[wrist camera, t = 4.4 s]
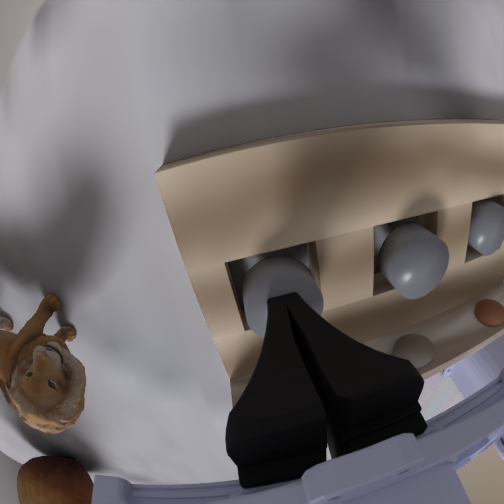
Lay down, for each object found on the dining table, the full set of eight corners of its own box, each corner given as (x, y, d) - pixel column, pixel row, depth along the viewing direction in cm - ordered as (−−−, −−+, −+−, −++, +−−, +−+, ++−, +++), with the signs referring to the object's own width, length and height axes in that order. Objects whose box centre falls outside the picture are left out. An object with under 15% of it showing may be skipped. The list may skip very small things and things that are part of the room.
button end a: (486, 237, 17) (503, 248, 15) (457, 247, 17) (474, 261, 15) (492, 192, 15) (511, 202, 14) (462, 199, 15) (482, 210, 14)
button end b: (314, 305, 16) (325, 329, 14) (249, 321, 16) (254, 347, 14) (307, 248, 14) (321, 268, 12) (234, 265, 14) (237, 289, 12)
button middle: (426, 270, 16) (444, 288, 14) (377, 286, 16) (393, 307, 14) (430, 216, 14) (452, 231, 12) (378, 230, 14) (398, 247, 12)
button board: (485, 280, 20) (527, 318, 15) (231, 365, 20) (239, 438, 14) (502, 120, 14) (564, 138, 8) (162, 164, 13) (129, 201, 8)
